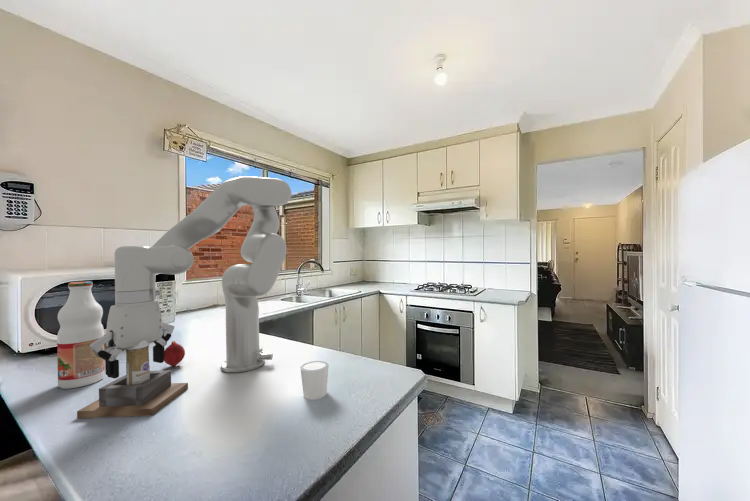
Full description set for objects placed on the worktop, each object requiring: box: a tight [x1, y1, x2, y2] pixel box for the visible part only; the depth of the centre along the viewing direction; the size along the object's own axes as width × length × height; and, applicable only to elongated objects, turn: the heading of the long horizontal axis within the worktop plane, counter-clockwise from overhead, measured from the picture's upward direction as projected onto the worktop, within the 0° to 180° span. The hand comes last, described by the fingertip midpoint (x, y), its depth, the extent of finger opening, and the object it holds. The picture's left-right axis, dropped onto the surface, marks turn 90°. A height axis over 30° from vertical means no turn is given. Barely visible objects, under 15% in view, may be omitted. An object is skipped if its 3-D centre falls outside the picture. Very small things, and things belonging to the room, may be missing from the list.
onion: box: [164, 340, 186, 367], centre depth 94 cm, size 6×6×8 cm
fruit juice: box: [56, 280, 106, 390], centre depth 84 cm, size 9×9×28 cm
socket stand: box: [76, 369, 189, 419], centre depth 72 cm, size 16×13×6 cm
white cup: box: [300, 360, 330, 401], centre depth 74 cm, size 7×7×7 cm
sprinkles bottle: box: [125, 340, 151, 385], centre depth 72 cm, size 5×5×13 cm
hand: (137, 369), depth 72 cm, fingers open, 9 cm apart
